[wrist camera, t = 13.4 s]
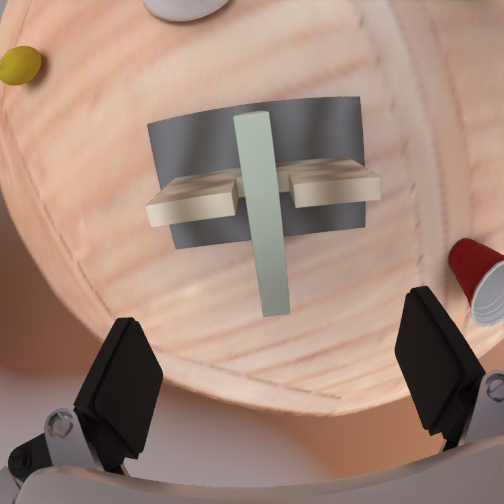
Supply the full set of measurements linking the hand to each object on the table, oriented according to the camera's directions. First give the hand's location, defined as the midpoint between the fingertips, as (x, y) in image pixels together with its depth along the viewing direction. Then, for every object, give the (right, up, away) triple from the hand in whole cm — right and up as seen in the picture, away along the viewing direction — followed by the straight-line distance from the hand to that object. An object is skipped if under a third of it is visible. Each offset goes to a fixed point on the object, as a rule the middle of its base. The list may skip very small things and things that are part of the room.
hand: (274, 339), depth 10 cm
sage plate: (0, +12, +23) cm, 26 cm away
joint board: (0, +12, +24) cm, 27 cm away
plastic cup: (+32, +3, +29) cm, 43 cm away
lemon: (-30, +29, +17) cm, 45 cm away
